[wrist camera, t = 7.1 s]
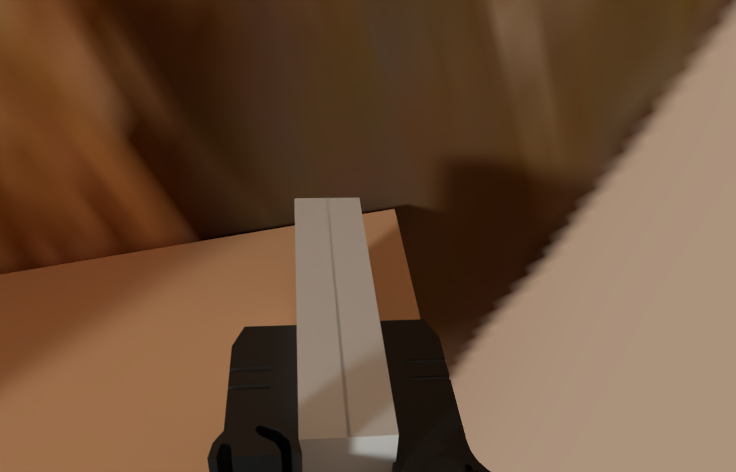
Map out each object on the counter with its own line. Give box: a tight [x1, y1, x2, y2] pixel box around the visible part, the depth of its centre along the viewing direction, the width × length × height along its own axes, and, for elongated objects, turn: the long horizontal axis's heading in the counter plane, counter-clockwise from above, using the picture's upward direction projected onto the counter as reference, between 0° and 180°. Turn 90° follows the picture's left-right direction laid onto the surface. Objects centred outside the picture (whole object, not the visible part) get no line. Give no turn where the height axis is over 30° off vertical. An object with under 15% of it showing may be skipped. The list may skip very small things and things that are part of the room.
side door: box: [0, 209, 420, 472], centre depth 16 cm, size 17×2×10 cm, turn 98°
